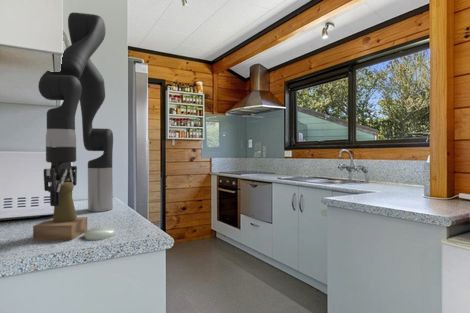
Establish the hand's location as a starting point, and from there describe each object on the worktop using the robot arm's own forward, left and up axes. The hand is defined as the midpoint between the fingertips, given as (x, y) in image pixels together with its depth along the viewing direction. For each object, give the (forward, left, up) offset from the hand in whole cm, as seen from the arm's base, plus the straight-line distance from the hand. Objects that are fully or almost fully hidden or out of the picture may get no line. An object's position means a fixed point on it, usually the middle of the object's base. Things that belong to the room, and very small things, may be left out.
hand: (61, 203), depth 86 cm
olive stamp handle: (-2, 0, -5) cm, 5 cm away
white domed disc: (+1, +11, -10) cm, 15 cm away
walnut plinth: (0, 0, -9) cm, 9 cm away
